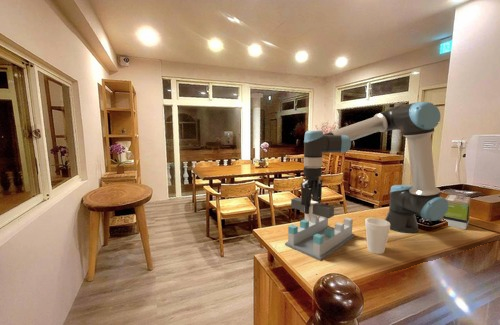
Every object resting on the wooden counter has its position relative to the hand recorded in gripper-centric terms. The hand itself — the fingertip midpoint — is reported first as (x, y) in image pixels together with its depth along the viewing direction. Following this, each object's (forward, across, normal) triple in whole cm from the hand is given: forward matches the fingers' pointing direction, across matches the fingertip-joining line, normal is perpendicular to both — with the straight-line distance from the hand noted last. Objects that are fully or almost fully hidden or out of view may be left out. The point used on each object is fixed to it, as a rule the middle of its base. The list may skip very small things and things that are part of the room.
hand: (311, 218), depth 102 cm
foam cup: (+13, -18, +21) cm, 31 cm away
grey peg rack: (+13, -9, 0) cm, 16 cm away
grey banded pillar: (-3, 0, 0) cm, 3 cm away
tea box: (+13, -82, +40) cm, 92 cm away
